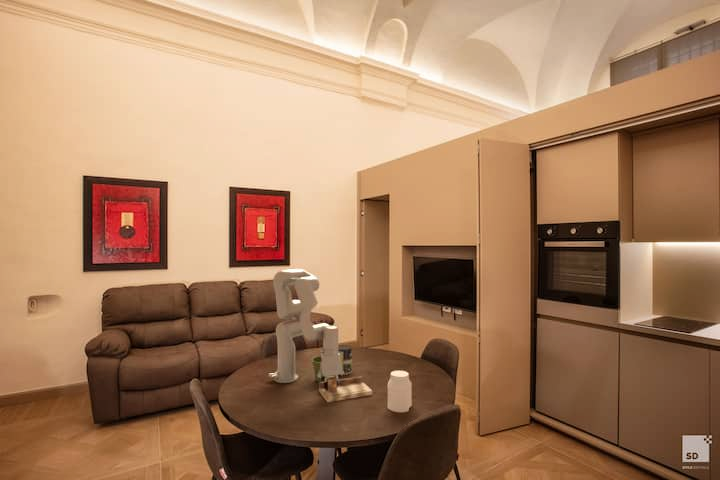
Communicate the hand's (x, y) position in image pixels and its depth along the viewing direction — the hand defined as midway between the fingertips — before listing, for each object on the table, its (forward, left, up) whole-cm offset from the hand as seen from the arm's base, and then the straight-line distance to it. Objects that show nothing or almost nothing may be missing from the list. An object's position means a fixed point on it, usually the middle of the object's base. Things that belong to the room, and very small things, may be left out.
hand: (330, 388), depth 182 cm
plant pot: (+1, +20, -3) cm, 20 cm away
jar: (+24, -26, -3) cm, 36 cm away
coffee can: (+16, +28, -3) cm, 33 cm away
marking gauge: (0, -2, -1) cm, 3 cm away
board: (+7, -2, -3) cm, 8 cm away
